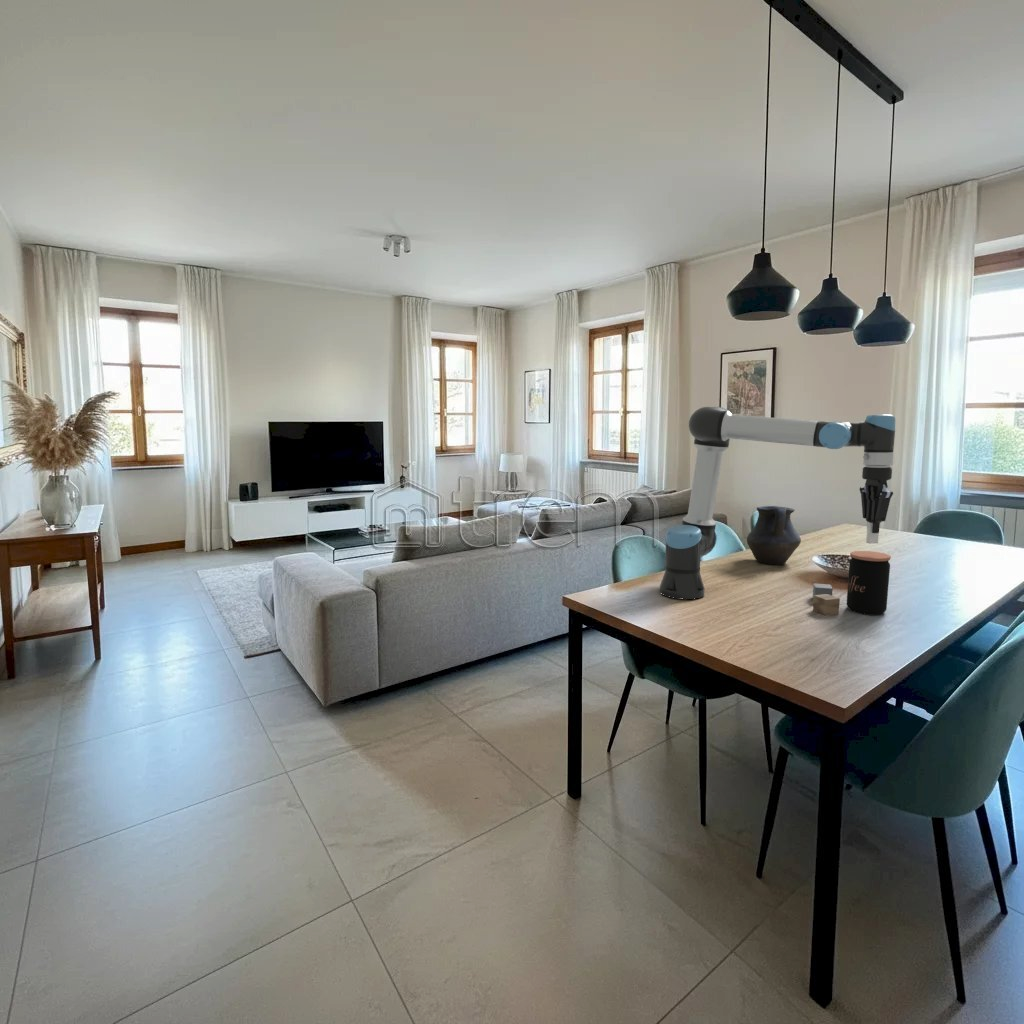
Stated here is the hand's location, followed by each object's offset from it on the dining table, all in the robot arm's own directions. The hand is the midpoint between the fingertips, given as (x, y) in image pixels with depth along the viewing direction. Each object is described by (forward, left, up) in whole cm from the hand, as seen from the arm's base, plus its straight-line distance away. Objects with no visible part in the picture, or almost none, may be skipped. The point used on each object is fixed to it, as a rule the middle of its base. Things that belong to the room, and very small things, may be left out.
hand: (872, 542), depth 176 cm
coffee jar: (0, 0, -22) cm, 22 cm away
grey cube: (-11, -8, -22) cm, 26 cm away
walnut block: (+1, -13, -22) cm, 25 cm away
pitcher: (-63, -2, -22) cm, 67 cm away
